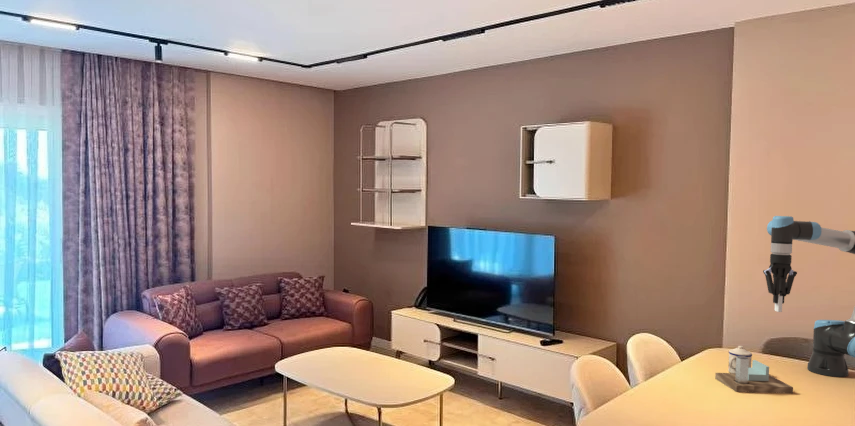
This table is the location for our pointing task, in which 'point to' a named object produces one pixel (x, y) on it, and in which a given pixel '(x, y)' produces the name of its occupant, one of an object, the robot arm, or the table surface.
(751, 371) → the cover
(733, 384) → the base
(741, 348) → the teacup with lid
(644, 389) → the table surface
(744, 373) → the pin
